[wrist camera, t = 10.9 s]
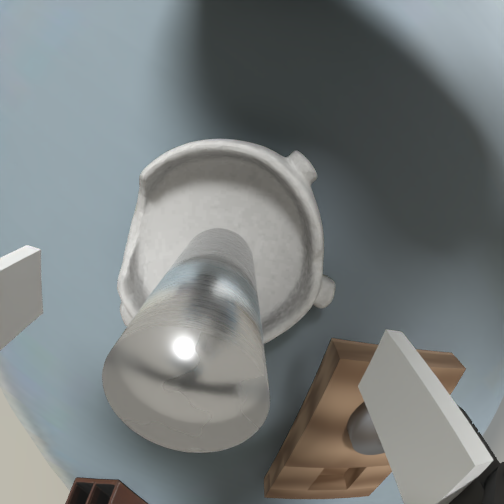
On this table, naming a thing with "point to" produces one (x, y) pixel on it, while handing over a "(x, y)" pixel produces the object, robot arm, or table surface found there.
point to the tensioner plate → (340, 429)
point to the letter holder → (101, 492)
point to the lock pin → (195, 352)
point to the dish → (231, 224)
